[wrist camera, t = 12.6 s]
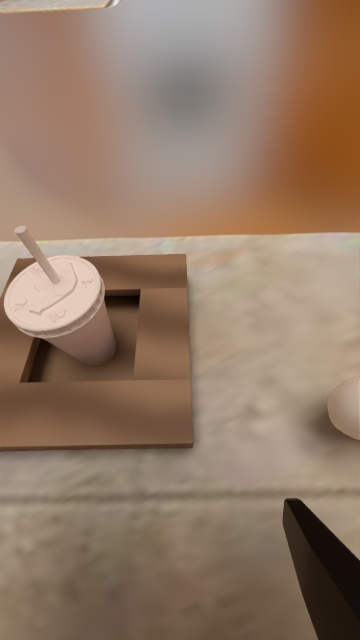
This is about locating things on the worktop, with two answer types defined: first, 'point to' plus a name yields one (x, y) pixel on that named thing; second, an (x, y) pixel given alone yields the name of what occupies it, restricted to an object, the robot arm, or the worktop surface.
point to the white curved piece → (346, 407)
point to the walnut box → (105, 368)
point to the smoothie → (62, 304)
